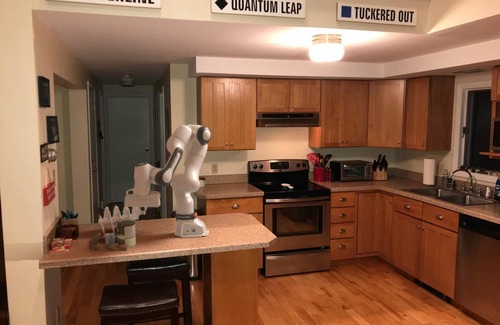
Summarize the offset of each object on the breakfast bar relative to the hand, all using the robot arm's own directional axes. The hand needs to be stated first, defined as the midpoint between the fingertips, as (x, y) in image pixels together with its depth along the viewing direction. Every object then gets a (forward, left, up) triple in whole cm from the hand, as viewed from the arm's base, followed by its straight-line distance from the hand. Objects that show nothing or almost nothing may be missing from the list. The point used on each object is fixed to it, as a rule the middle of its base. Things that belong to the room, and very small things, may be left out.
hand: (142, 214), depth 231 cm
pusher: (+21, 0, -19) cm, 28 cm away
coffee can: (+10, 0, -19) cm, 22 cm away
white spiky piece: (+24, -31, -19) cm, 44 cm away
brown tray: (+18, 0, -19) cm, 26 cm away
